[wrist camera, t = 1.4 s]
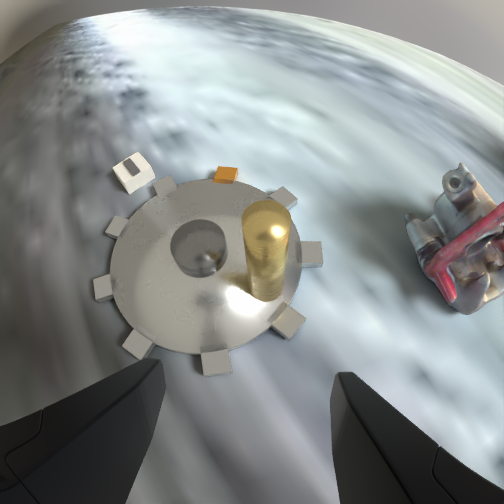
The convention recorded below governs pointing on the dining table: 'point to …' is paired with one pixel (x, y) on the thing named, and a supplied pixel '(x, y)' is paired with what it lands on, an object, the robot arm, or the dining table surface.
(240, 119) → the dining table surface
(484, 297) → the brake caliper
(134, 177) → the block
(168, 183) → the sprocket
